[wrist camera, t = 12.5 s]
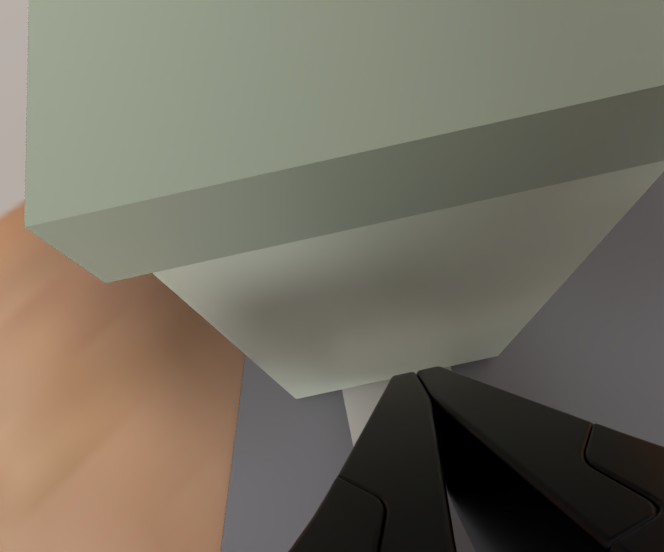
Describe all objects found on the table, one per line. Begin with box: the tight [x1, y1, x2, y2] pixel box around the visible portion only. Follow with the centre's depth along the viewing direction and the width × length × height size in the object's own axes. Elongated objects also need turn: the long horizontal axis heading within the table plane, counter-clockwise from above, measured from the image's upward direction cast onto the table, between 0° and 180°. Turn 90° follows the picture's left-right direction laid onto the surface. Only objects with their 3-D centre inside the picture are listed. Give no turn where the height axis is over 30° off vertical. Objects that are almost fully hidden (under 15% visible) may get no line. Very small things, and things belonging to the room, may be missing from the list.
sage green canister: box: [24, 0, 664, 399], centre depth 10 cm, size 6×6×11 cm
